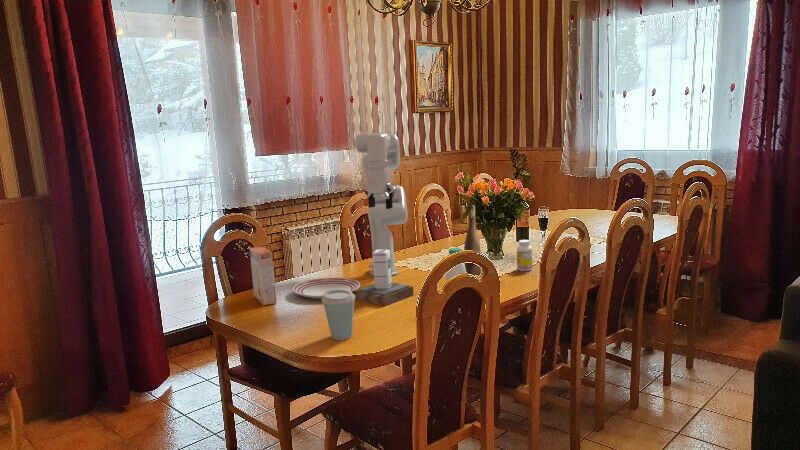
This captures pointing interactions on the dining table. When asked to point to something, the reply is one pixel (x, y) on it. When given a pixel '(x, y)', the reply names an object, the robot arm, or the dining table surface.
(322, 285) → the dinner plate
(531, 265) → the supplement bottle
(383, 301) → the podium
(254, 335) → the dining table surface
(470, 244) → the grey vase
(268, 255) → the cracker box
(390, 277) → the syrup box
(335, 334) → the disposable coffee cup
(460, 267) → the milk bottle
